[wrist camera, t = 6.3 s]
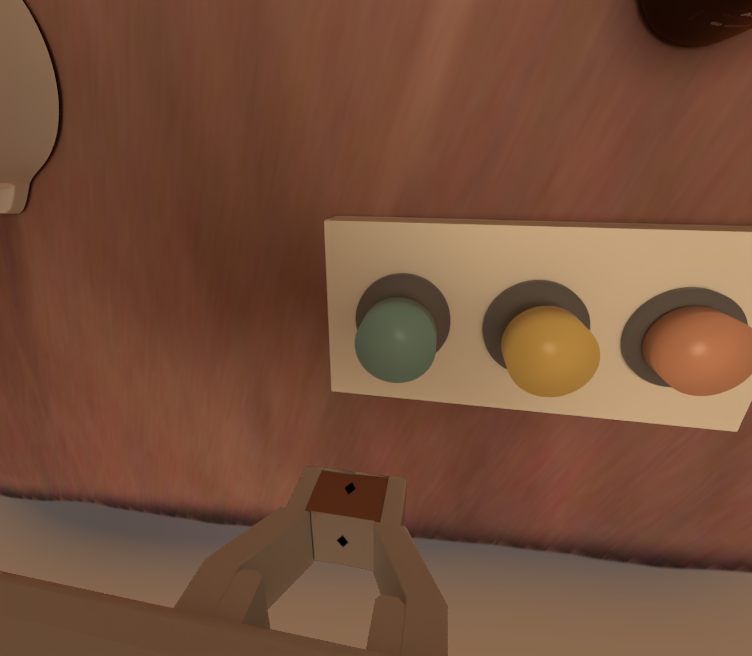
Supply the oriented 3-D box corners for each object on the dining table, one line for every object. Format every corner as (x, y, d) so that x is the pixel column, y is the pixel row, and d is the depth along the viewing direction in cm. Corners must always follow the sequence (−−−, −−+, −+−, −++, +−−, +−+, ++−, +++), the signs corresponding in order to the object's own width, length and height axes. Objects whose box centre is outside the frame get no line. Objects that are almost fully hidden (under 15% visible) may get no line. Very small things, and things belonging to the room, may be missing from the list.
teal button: (362, 363, 23) (355, 379, 21) (361, 294, 21) (353, 306, 19) (434, 369, 22) (433, 386, 20) (439, 299, 21) (438, 311, 19)
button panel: (341, 371, 30) (329, 395, 26) (336, 215, 25) (321, 221, 22) (706, 404, 26) (744, 438, 22) (778, 226, 21) (839, 235, 18)
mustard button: (496, 374, 22) (501, 393, 20) (506, 303, 20) (513, 316, 18) (576, 381, 21) (589, 401, 19) (594, 308, 19) (609, 322, 18)
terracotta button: (633, 374, 22) (650, 391, 20) (654, 303, 20) (675, 315, 18) (716, 380, 21) (742, 400, 19) (746, 308, 20) (777, 321, 18)
